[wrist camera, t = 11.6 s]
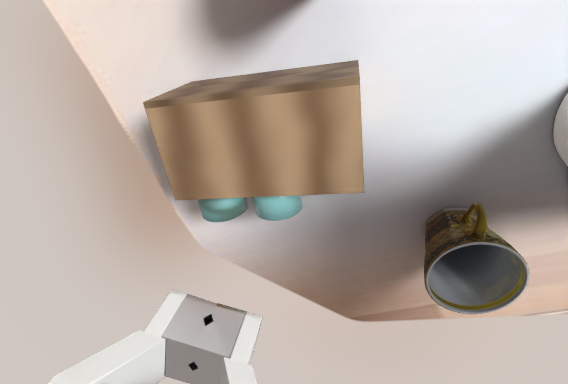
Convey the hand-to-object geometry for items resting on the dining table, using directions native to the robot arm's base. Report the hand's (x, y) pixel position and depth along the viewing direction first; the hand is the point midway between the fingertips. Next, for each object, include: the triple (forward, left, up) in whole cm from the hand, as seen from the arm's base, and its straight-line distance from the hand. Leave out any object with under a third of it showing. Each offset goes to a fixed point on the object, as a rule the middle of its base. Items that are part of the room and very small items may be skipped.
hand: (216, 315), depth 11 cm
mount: (+3, +6, -33) cm, 34 cm away
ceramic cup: (-21, +11, -33) cm, 41 cm away
